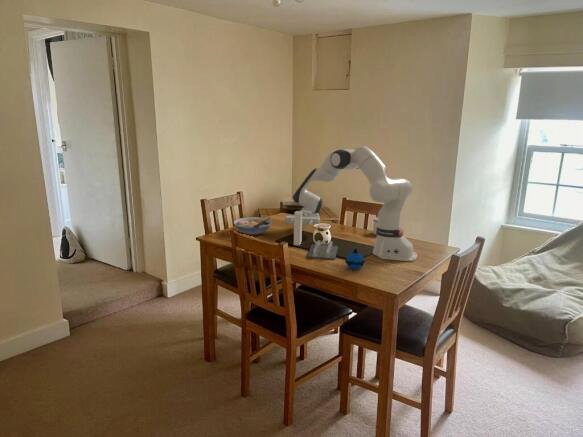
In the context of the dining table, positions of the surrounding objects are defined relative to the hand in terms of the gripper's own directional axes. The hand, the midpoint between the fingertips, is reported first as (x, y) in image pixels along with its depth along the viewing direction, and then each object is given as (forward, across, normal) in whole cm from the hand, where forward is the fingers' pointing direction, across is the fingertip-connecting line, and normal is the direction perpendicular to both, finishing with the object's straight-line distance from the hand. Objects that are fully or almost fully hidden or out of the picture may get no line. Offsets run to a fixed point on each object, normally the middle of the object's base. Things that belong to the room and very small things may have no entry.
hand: (300, 223), depth 246 cm
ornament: (+42, +32, +10) cm, 54 cm away
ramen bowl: (-6, -30, +10) cm, 32 cm away
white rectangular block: (+8, 0, +10) cm, 13 cm away
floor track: (+20, +15, +10) cm, 27 cm away
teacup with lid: (-25, +46, +10) cm, 53 cm away
